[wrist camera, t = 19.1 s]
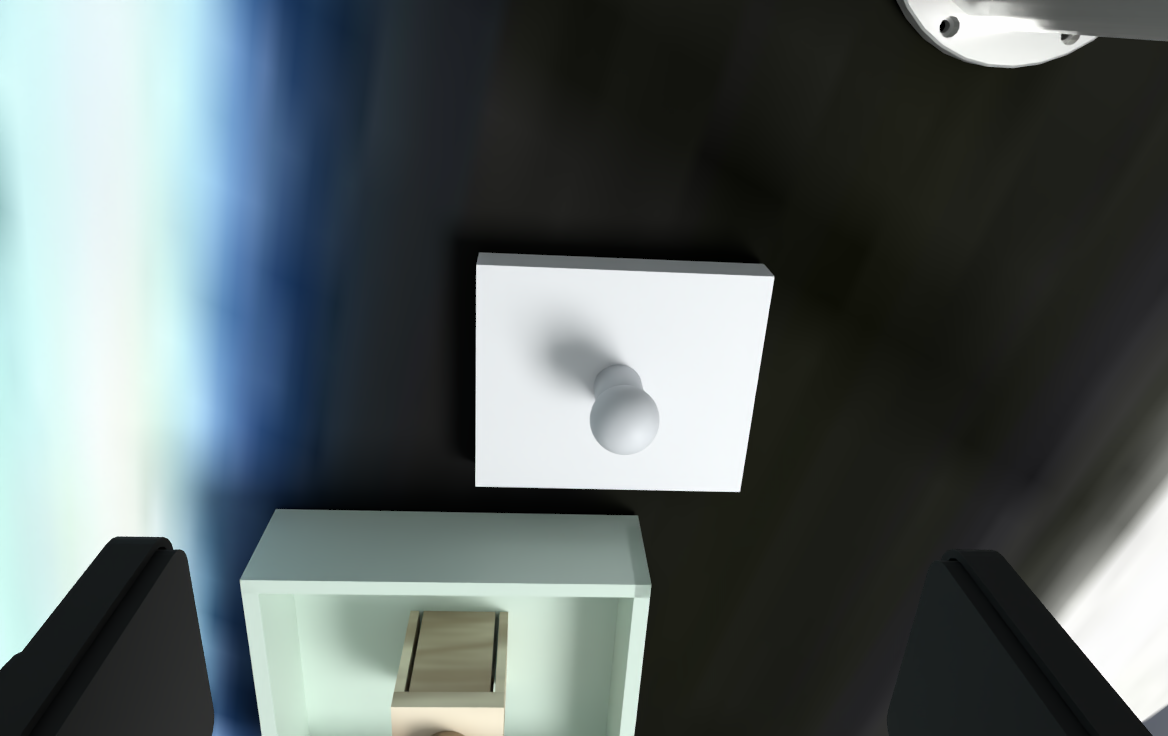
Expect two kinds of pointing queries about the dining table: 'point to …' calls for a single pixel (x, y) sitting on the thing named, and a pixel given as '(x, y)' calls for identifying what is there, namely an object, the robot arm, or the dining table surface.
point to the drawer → (451, 676)
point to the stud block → (616, 371)
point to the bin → (446, 583)
